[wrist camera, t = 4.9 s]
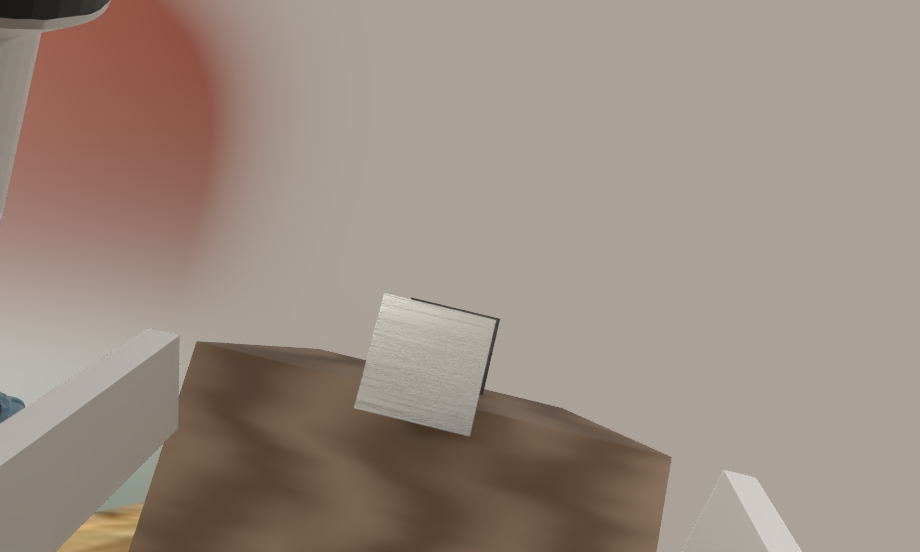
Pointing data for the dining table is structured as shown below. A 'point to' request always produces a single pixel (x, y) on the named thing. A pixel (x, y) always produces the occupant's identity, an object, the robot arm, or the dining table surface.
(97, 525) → the dining table surface
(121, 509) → the dining table surface
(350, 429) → the pedestal
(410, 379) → the light grey rectangular bar
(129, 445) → the robot arm
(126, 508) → the dining table surface
